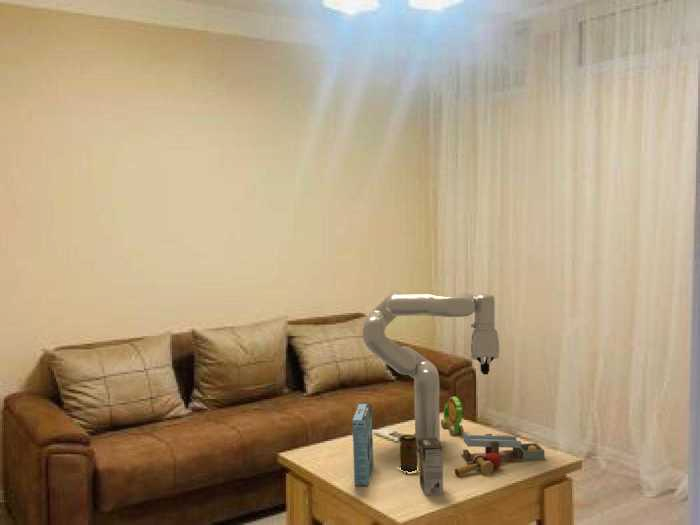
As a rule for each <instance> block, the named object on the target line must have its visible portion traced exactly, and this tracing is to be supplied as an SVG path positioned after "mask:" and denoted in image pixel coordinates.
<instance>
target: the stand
mask: <svg viewBox="0 0 700 525" xmlns="http://www.w3.org/2000/svg"><path fill="white" fill-rule="evenodd" d="M485 435H493V434H492V433H485ZM484 448H485V450H484V451H485V452H477V453H471V452H470V451H469V450H468V449H465V448H464V449H462V453H461V458H462V459H463V460H464V462H465V463H466V466H467V465H471V464H473V462H472V461H473V458H474V456H476V455H478V454H480V455H482V456H483V457H484V458H485V456H486V455H487V454H488V453H496V454H498V455H499V456H500V458H501V464H502V463H503V464H504V463H518V462H519V463H520V462H525V461H524V460H523V458H522V457H521V449H520V448H512V450H511V451H500V447H499V442H498V441H492V447H484Z"/></svg>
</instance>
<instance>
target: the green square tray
mask: <svg viewBox="0 0 700 525" xmlns="http://www.w3.org/2000/svg"><path fill="white" fill-rule="evenodd" d="M531 445H534V446H535V447H536V448H537V450H530V451H528V447H529V446H531ZM520 449H521V457H522V458H523V460H524V461H523V462H525V461H527V462H528V460H530V461H543V460H542V459H544V460H545V449H544V448H543V447H541V445H539V444H538V443H537V442H534V443H533V442H532V443H530V442H529V443H521V448H520Z"/></svg>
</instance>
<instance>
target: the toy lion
mask: <svg viewBox="0 0 700 525" xmlns="http://www.w3.org/2000/svg"><path fill="white" fill-rule="evenodd" d="M462 419H463V407H462V404H461V402H460V400H459V398H458V397H457V396H451V397H449V398H448V401H447V403H445V404H444V407H443V418H441V420H440V424H441V425H440V426H441V428H442V429H446V428H447V427H449V428H448V432H449V435H450V436H455V434H456V435H457V434H458V435H464V430H465V429H464V426H463V425H461V423H462Z"/></svg>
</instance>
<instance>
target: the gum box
mask: <svg viewBox="0 0 700 525" xmlns="http://www.w3.org/2000/svg"><path fill="white" fill-rule="evenodd" d="M372 413H373V412H372V404H370V403H359V404H358V406H357V408H356V411H355V413H354V415H353V418H352V420H351V421H352V439H353V440H352V444H353V447H352V448H353V449H352V451H353V475H354V476H353V477H354V480H353V484H355V485H354V486H356V485H368V486H369V484H370V478H371V475H372V472H373V467H374V447H373V446H374V443H373V418H372V417H373V416H372V415H373V414H372ZM371 471H372V472H371Z"/></svg>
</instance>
